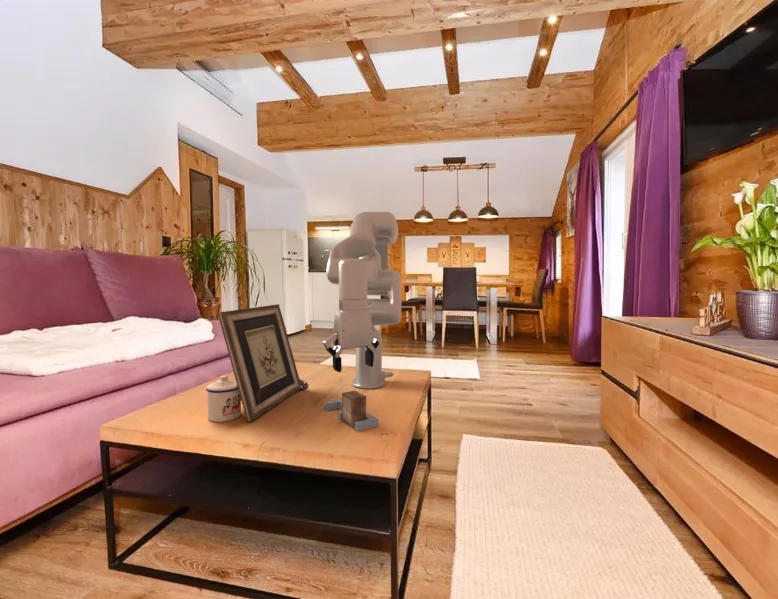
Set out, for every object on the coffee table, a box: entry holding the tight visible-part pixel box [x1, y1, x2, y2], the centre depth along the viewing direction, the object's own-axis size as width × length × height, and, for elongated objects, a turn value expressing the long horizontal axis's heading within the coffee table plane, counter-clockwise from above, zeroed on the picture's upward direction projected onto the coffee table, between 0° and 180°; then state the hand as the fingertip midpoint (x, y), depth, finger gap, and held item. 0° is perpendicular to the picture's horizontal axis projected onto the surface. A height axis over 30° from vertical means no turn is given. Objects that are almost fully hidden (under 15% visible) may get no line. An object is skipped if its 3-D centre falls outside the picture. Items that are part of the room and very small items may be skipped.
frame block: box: [341, 390, 367, 429], centre depth 105 cm, size 4×6×8 cm
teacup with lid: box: [205, 375, 242, 423], centre depth 111 cm, size 12×9×12 cm
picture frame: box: [217, 304, 302, 423], centre depth 122 cm, size 33×10×30 cm, turn 168°
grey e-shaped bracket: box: [323, 398, 380, 432], centre depth 110 cm, size 6×20×2 cm, turn 34°
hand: (353, 368), depth 105 cm, fingers open, 9 cm apart
